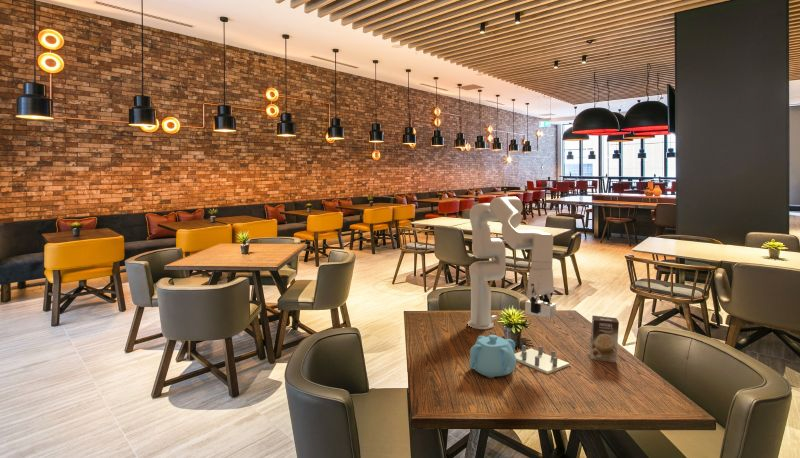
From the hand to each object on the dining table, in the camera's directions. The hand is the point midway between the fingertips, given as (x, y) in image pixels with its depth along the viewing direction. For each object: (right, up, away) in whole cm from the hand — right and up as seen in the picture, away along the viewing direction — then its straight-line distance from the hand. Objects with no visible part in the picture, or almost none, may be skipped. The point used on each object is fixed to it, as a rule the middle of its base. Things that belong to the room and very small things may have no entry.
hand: (540, 311), depth 166 cm
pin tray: (0, -20, +2) cm, 20 cm away
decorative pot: (-20, -21, -6) cm, 30 cm away
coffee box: (+27, -20, +6) cm, 34 cm away
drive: (0, -1, 0) cm, 1 cm away
